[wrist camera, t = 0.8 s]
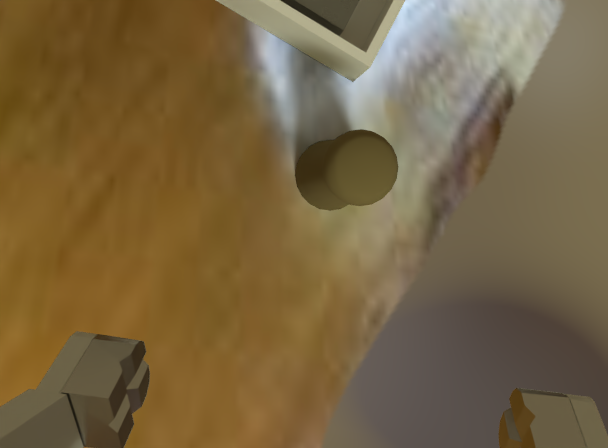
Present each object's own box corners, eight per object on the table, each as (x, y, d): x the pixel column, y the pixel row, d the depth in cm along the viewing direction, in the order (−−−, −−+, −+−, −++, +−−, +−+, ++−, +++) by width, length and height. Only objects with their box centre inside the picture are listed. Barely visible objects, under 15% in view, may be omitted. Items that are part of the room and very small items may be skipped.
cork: (322, 224, 46) (357, 230, 35) (281, 166, 45) (303, 155, 34) (377, 183, 46) (427, 177, 36) (337, 125, 46) (377, 101, 35)
